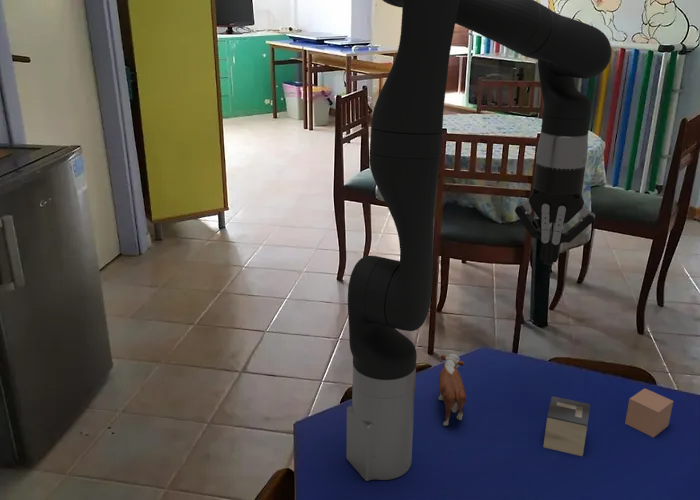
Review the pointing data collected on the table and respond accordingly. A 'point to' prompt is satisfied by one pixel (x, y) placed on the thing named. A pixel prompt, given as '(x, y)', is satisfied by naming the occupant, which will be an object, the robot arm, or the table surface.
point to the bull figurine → (452, 387)
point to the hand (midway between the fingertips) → (548, 262)
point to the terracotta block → (649, 412)
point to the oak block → (566, 426)
